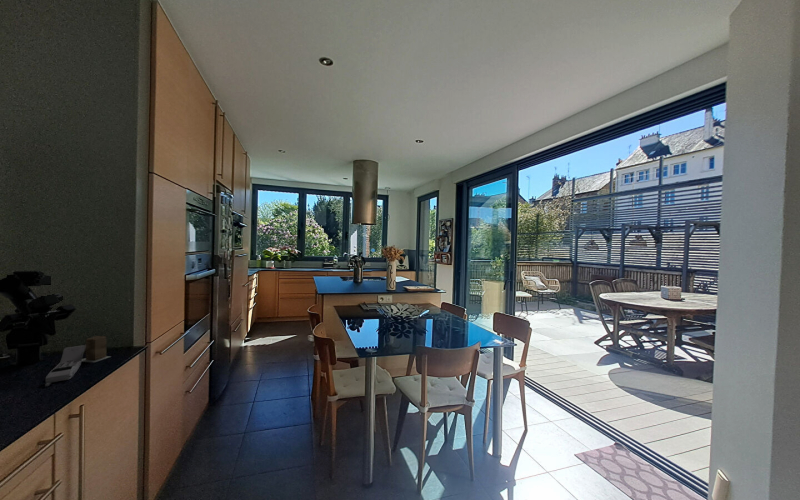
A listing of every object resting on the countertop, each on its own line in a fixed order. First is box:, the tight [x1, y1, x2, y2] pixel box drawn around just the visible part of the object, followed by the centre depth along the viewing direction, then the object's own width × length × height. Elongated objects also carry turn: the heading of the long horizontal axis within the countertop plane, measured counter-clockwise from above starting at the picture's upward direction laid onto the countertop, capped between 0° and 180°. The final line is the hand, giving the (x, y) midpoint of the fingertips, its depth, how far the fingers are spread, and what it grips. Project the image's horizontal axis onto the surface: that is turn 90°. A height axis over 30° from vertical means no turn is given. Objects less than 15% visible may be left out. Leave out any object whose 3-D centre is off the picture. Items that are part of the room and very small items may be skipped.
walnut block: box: [85, 335, 107, 361], centre depth 118 cm, size 4×4×8 cm
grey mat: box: [81, 355, 112, 363], centre depth 117 cm, size 8×6×1 cm
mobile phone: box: [44, 344, 86, 387], centre depth 106 cm, size 6×6×25 cm
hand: (53, 334), depth 107 cm, fingers closed
